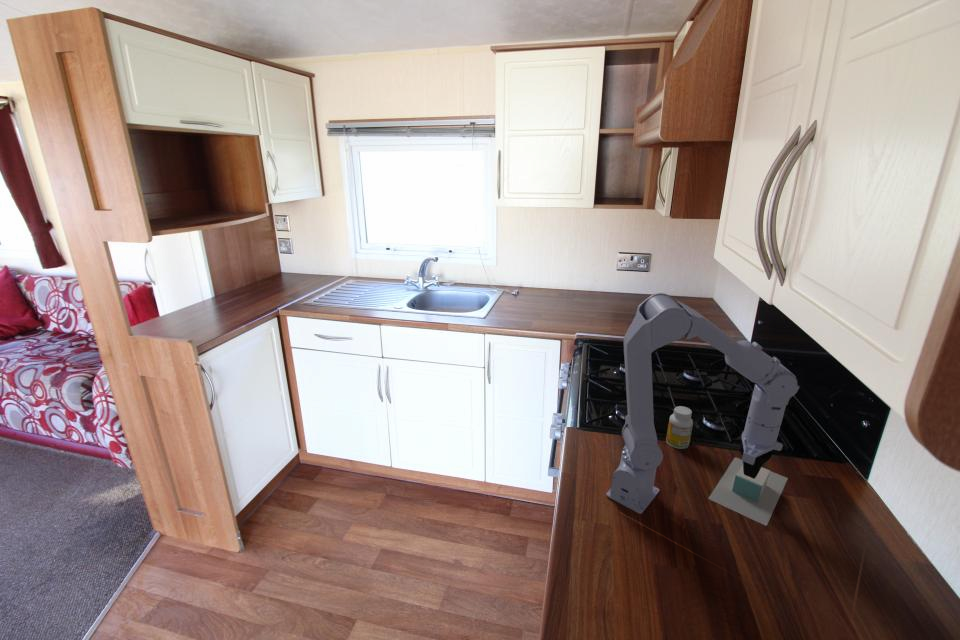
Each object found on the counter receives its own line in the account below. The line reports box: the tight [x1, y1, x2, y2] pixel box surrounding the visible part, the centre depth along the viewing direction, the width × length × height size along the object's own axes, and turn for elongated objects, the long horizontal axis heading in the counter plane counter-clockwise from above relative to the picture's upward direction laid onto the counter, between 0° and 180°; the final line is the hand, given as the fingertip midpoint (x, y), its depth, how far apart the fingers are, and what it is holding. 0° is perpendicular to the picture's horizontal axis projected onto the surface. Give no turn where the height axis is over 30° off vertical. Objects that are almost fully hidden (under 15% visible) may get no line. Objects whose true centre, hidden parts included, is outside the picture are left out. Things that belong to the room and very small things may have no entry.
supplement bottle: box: [665, 405, 694, 450], centre depth 114 cm, size 5×5×10 cm
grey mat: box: [707, 457, 789, 527], centre depth 100 cm, size 19×11×1 cm, turn 137°
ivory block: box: [732, 465, 771, 502], centre depth 99 cm, size 4×5×7 cm
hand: (749, 475), depth 95 cm, fingers closed
